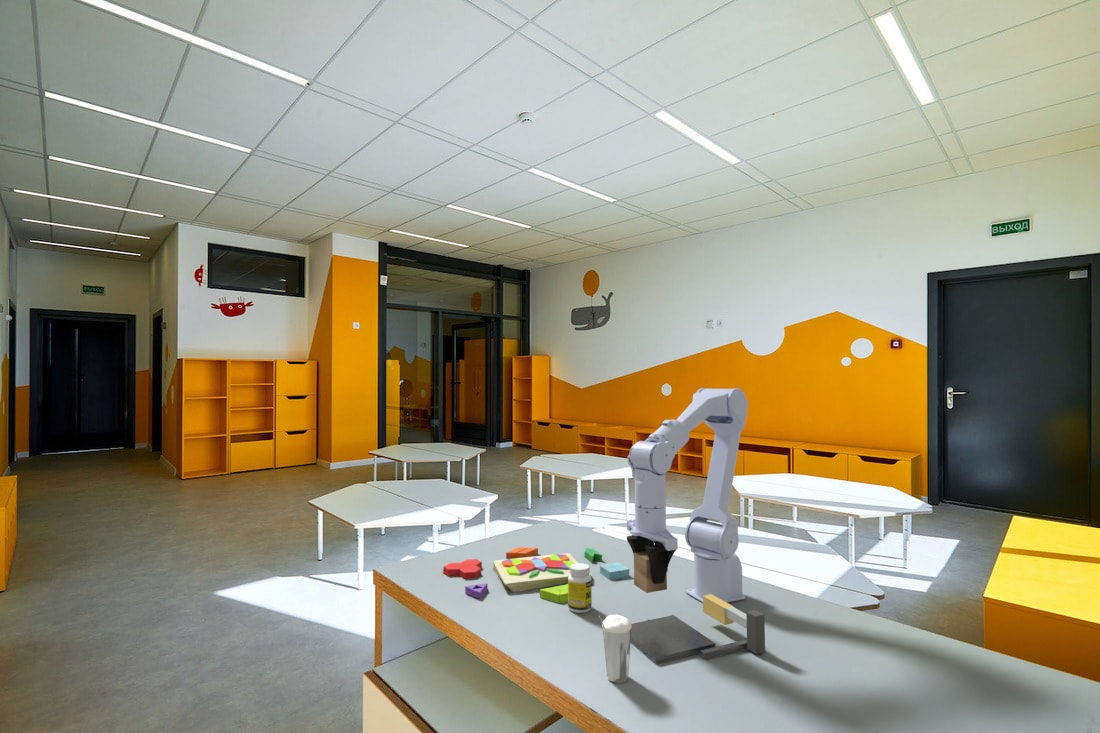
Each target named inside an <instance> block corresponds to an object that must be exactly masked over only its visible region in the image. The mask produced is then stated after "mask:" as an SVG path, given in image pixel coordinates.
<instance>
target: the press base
mask: <svg viewBox="0 0 1100 733" xmlns="http://www.w3.org/2000/svg"><path fill="white" fill-rule="evenodd" d="M631 624H632V629H631V641H630V644H632V645H633V646H634V647H635V648H637V649H638V650H639V652H641V653H642V654H644V656H646V657H647V658H648V659H649V660H650V661H651V662H653V664H655V665H657V664H662V663H666V662H669V661H673V660H678V659H682V658H686V657H690V656H694V655H699V657H700V658H701V659H702V660H708V659H712V658H716V657H721V656H725V655H729V654H732V653H735V652H736V653H737V652H740V651H744V650H748V649H747V638H746V639H743V640H739V641H734V642H731V643H727V644H722V645H717V646H716V642H715V641H713V640H711V639H710V638H708V637H707V636H706V635H704V634H703V633H701V632H699V631H698V630H697V629H695V628H693V627H692V626H690V625H689V624H688V623H686V622H684V621H683V619H682V620H681V619H680V618H679V617H677V615H674V614H673V615H672V614H671V615H667V616H662V617H658V618H654V619H653V618H652V619H649V620H644V621H640V622H639V621H638V622H634V623H631Z"/></svg>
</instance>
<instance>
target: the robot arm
mask: <svg viewBox="0 0 1100 733" xmlns="http://www.w3.org/2000/svg"><path fill="white" fill-rule="evenodd" d="M748 409H749V401H748V400H747V396H746V394H745V393H744V391H743V390H742V389H741V388H739V387H736V388H735V387H734V388H706V387H701V388H699V389H698V390H697V391H696V392H695V393H693V395H692V402H691V403H690V404H689V405H688V406H687V407H686V408H685V410H684V411H683V412H682V413H681V414H680V415H679V416H678V417H677V419H664V420H663V421H662V423H661V424H662V425H661V426H660V427H658V428H657V429H656V430H655V431H654V432H653V433H650V435H648V438H646V439H645V440H639V441H637V442H635V444H633V445H632V446H631V447H630V449H629V453H628V456H627V458H626V459H627V463H628V465H629V467H630V468H631V469H630V470H631V477H632V479H633V480H634V519H627V520H626V531H628V532H629V534H630V535H628V536H626V541H627V543H628V544H629V547H630V549H631V550H632V554H633V555H634V553H637V552H644V551H646V552H647V554H648V557H649V561H650V567H651V577H652V581H653V583H654V584H659V583H664V581H665V576H666V572H667V568H668V567H669V564H670V563H671V562H670V561H671V560H672V558H673V556H674V554H675V552H676V551H677V550H678V548H679V547H678V543H679V542H678V538H677V537H675V536H674V535H673V534H672V532H670V531H669V530H668V529H667V512H666V511H667V506H666V473H667V472H669V471H670V469H671V467H672V464H673V460H674V459H675V456H676V454H677V453H678V452H679V451H680V450H681V449H682V448H683V447H684V446H685V445H686V444H687V443H688V442H689V440H690V434H689V433H690V432H692V430H694V429H696V427H697V426H699V425H701V424H702V423H703V422H704V423H705V425H706V426H707V427H708V428H710V429H712V431H713V433H714V438H713V439H714V440H713V443H712V449H711V456H710V461H709V466H708V468H709V469H708V472H707V479H706V485H705V489H704V490H705V491H704V494H703V501H702V504H701V505H700V506H698V507H696V508H694V509H693V510H692V511H691V513H690V514H691V515H690V518H689V521H688V523H687V524H686V527H685V530H684V537H685V538H684V539H685V542H686V544H687V546H689V547H690V552H691V553H692V554H693V564H694V565H693V566H694V567H693V570H694V572H693V573H694V575H693V576H694V578H693V579H694V580H693V582H694V588H689V589H686V590H685V593H686V594H687V595H689V596H690V597H691V596H692V597H693V598H694V599H696V600H698V601H700V602H702V603H703V596H704V595H709V594H712V595H714V596H716V597H717V598H719V599H721V600H723V601H725V602H726V603H728V604H729V603H731V602H737V601H741V600H745V599H746V596H745V595H743V566H742V563H741V560H740V558H739V556H738V555H737V553H736V552H737V549H738V547H739V543H740V542H739V540H740V538H739V521H738V520H737V519H736V517H734V515H733V514H732V513H731V512H730V511H729V507H730V500H731V495H732V489H733V483H734V482H733V480H734V476H735V469H736V466H737V465H736V464H737V459H738V452H739V447H740V440H741V434H742V430H745V426H746V421H747V415H748ZM713 521H715V522H713ZM716 522H719V523H716ZM667 573H668V572H667Z"/></svg>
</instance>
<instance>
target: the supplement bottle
mask: <svg viewBox="0 0 1100 733" xmlns="http://www.w3.org/2000/svg"><path fill="white" fill-rule="evenodd" d="M589 574H591V570H590V565H589V564H587V563H582V562H581V563H580V562H578V563H576V564H572V565H570V575H569V577H568V583H567V584H568V601H567V604H568V605H567V607H568V610H569V611H571V612H573V613H578V614H583V613H588V612H590V611H591V610H592V607H593V606H592V603H593V602H592V600H593V599H592V579H591V576H590V575H589Z"/></svg>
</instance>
